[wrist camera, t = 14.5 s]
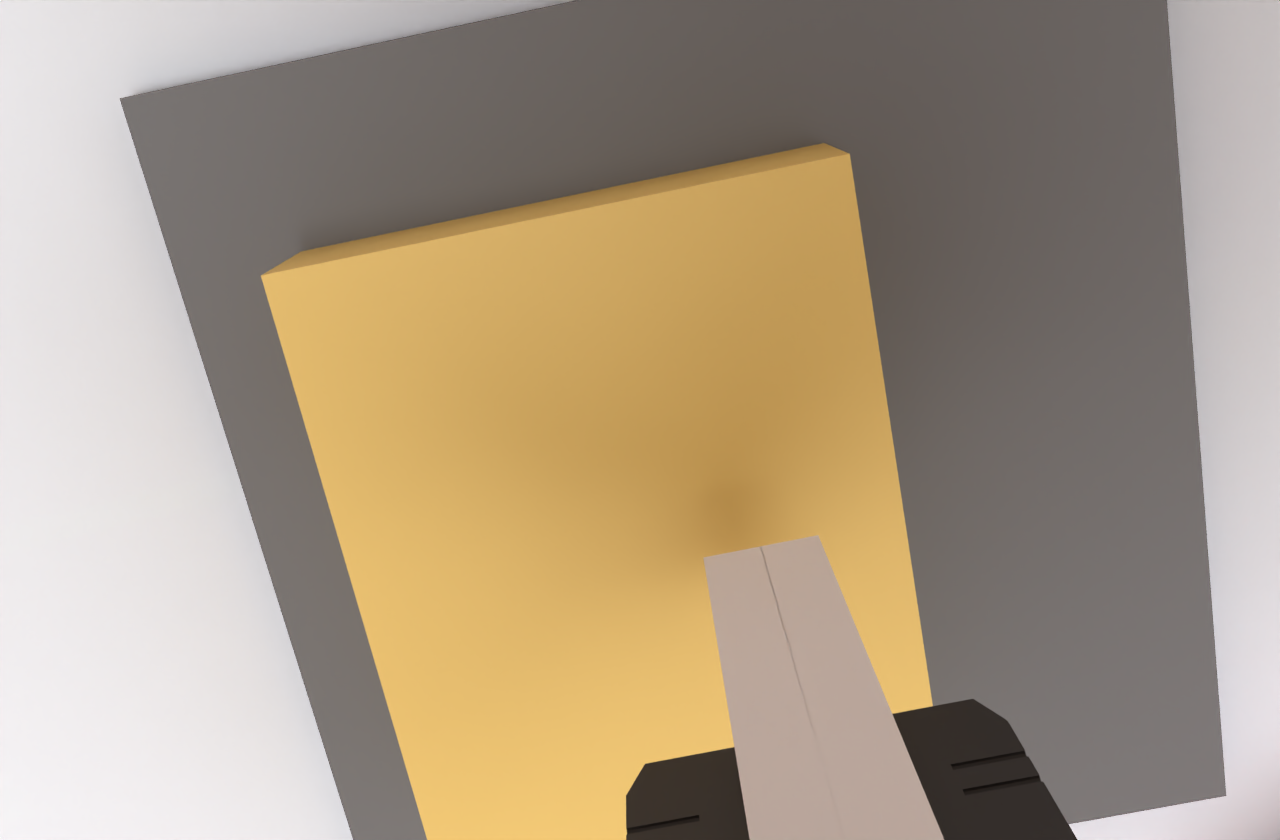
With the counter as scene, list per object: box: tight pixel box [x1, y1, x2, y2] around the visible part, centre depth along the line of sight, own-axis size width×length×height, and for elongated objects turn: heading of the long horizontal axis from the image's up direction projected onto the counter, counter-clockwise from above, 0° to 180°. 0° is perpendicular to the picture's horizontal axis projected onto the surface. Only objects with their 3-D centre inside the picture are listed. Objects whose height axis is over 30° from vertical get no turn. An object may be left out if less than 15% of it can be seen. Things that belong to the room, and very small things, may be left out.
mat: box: [120, 0, 1226, 840], centre depth 22 cm, size 17×17×1 cm
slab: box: [261, 143, 933, 840], centre depth 21 cm, size 11×2×9 cm
